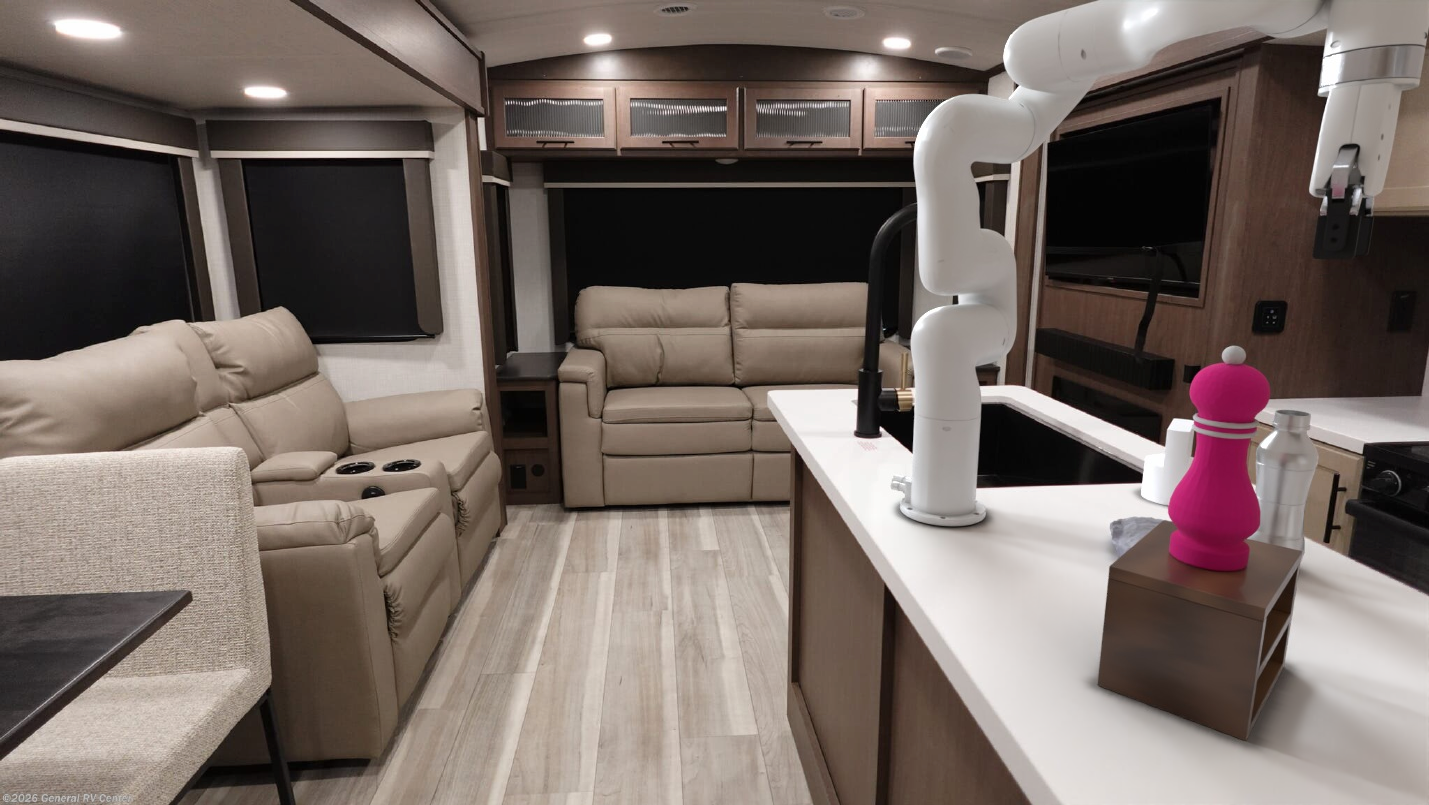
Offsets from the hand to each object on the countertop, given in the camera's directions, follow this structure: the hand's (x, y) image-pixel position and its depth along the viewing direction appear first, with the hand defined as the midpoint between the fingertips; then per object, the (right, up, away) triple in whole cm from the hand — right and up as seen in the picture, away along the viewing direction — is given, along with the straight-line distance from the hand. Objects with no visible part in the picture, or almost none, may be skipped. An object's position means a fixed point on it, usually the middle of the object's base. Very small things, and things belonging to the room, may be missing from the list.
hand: (1340, 257), depth 78 cm
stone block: (-5, -35, +25) cm, 43 cm away
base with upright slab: (+11, -30, +47) cm, 57 cm away
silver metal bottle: (+8, -36, +22) cm, 42 cm away
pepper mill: (-17, -29, -5) cm, 34 cm away
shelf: (-16, -41, -3) cm, 44 cm away
